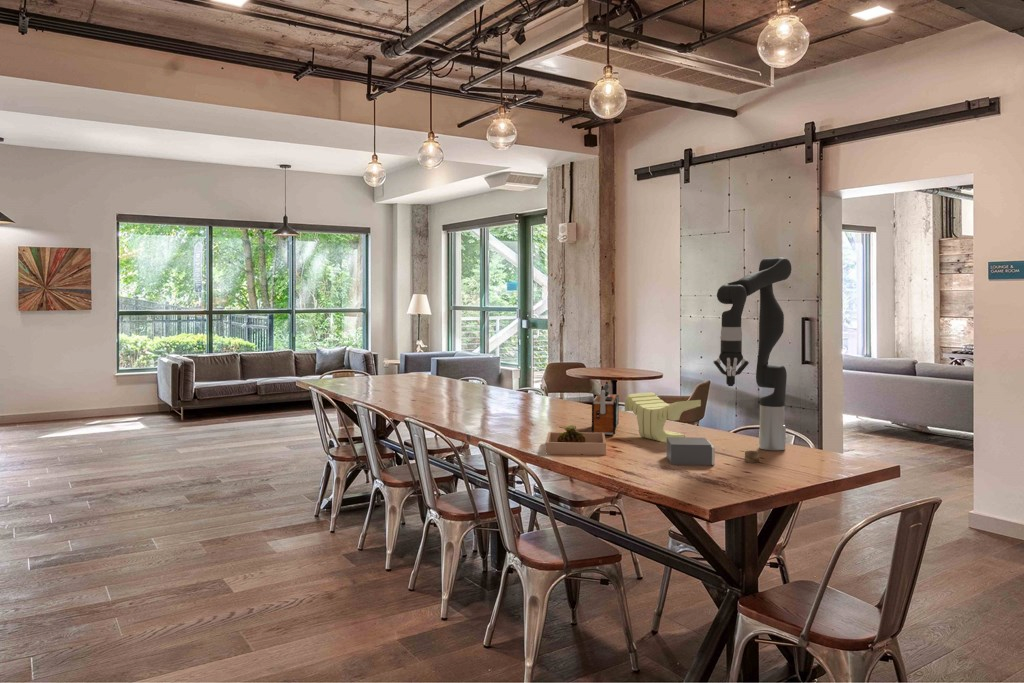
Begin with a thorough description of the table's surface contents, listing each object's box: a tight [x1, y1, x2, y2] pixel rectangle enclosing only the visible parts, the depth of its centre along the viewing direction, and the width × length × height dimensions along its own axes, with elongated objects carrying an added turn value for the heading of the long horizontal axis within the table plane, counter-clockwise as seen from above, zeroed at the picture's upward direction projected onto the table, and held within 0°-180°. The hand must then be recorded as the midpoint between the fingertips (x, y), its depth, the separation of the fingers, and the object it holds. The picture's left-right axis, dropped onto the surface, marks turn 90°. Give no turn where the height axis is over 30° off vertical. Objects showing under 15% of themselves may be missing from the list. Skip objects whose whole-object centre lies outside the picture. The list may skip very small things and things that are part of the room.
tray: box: [706, 439, 716, 466], centre depth 274 cm, size 14×14×6 cm
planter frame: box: [545, 431, 607, 456], centre depth 298 cm, size 23×23×4 cm
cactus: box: [557, 424, 586, 443], centre depth 297 cm, size 17×16×10 cm
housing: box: [666, 436, 712, 467], centre depth 274 cm, size 14×14×7 cm
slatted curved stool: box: [624, 391, 702, 443], centre depth 319 cm, size 30×16×18 cm, turn 30°
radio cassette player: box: [591, 383, 620, 436], centre depth 338 cm, size 29×10×20 cm, turn 169°
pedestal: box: [744, 450, 760, 464], centre depth 273 cm, size 5×5×4 cm
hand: (730, 386), depth 277 cm, fingers closed
